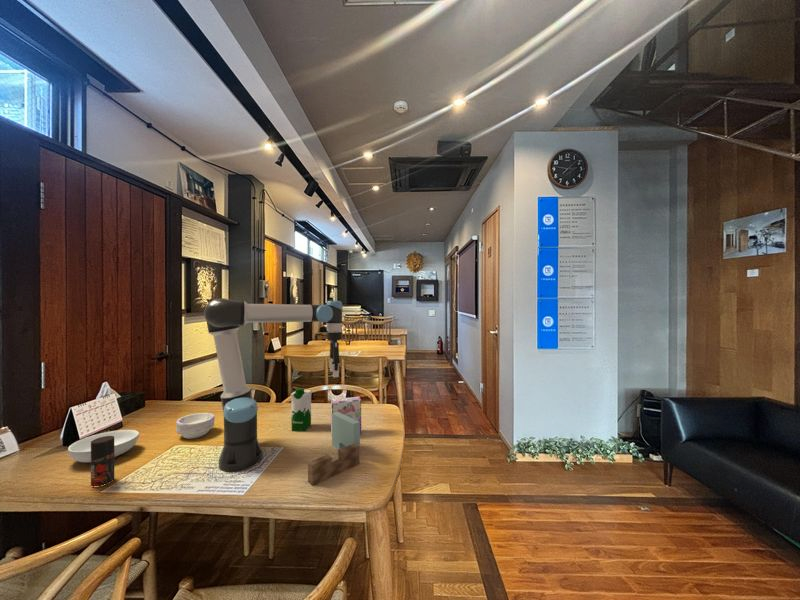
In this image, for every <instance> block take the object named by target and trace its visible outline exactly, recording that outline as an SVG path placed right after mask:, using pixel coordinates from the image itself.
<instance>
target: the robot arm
mask: <svg viewBox="0 0 800 600" xmlns="http://www.w3.org/2000/svg"><path fill="white" fill-rule="evenodd" d="M203 312H204V313H203V315H204V318H205V321H206V326H207V331H208V334H209V335H211V336H213V339H214V346H215V351H216V357H217V361H218V367H219V373H220V379H221V384H222V388H223V389H222V390H223V392H222V393H221V394H220V400H221V401H220V402H221V405H222V413H223V447H222V449H221V453H220V456H219V458H218V468H219V469H220V471H224V472H230V473H231V472H232V473H233V472H238V471H239V472H240V471H245V470H247V469H249V468H251V467H254V466H256V465H258V464H259V463H260V462H261V460H262V458H263V450H262V448H261V445H260V442H259V439H258V410H259V409H258V408H259V407H258V402H257V401H256V399H255V398H253V394H252V389H251V386H248V385H247V382H246V376H245V372H244V367H243V366H244V365H243V360H242V354H241V349H240V343H239V338H238V331H239V330H240V326H246V324H248V323H255V324H256V323H258V324H259V323H305V322H307V323H310V322H311V323H317V322H319V323H320V322H321V323H326V331H327V332H326V340H328V341H330V343H329V346H330V347H329V371H330V372H332V378H339V377H340V375H339V374H340V370H339V369H340V363H341V362H340V349H339V348H340V347H339V346H340V344H339V342H338V341H340V340H342V339H343V332H342V331H343V327H344V324H343V312H344V311H343V303H342V301H341V300H327V302H326V304H284V303H282V304H281V303H280V304H279V303H277V304H276V303H248V302H247V301H245V300H242V301H241V300H234V299H233V300H232V299H228V298H225V297H224V298H216V299H213V300H211V301H210V302H208V303H207V304H206V306H205V308H204V310H203Z"/></svg>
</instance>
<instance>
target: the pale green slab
mask: <svg viewBox="0 0 800 600" xmlns="http://www.w3.org/2000/svg"><path fill="white" fill-rule="evenodd" d="M354 443H356V444H357V445H359V446H360V447H361V434H360V422H359V421H357V420H355V419H352V418H350V417H348V416H346V415H344V414H341V413H339V412H336V413H332V435H331V446H332V447H333V448H335V450H337V451H338V450H339V449H342V448H344V447H347V446H349V445H352V444H354Z"/></svg>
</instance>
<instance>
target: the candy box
mask: <svg viewBox="0 0 800 600" xmlns="http://www.w3.org/2000/svg"><path fill="white" fill-rule="evenodd" d="M330 402H331V403H330V408H331V409H330V411H331V413H330V415H331V416H330V417H331V419H330V421H331V422H330V423H331V424H330V425H331V426H330V434H331V436H332V413H336V412H339V413H341V414H344V415H346V416H348V417H350V418H352V419H355V420H357V421H359V422H360V435H362V399H361V397H360V396H353V397H342V398H341V397H340V398H339V397H338V398H331V401H330Z"/></svg>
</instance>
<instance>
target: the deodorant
mask: <svg viewBox="0 0 800 600" xmlns="http://www.w3.org/2000/svg"><path fill="white" fill-rule="evenodd" d="M112 480H114V481H115V457H114V436H104V437H100V438H97V439H94V440H93V441H91V462H90V487H91V486H93V487H94V486H101V485H104V484H107V483H109V482H111V481H112ZM111 483H112V482H111ZM107 485H108V484H107ZM93 487H92V488H93Z"/></svg>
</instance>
